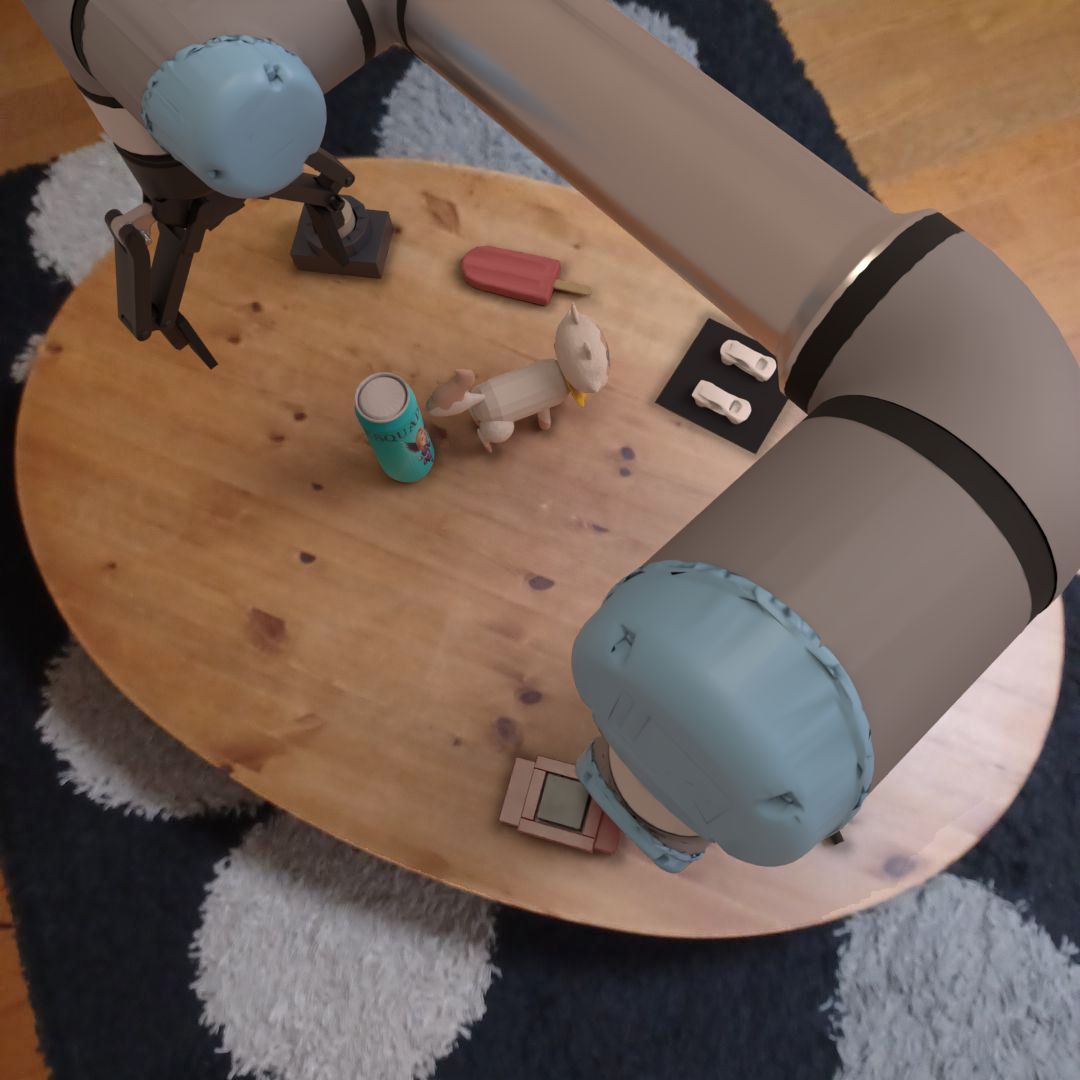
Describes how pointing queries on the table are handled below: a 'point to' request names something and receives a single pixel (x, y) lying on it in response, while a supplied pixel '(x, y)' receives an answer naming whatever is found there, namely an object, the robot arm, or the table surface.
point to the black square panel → (563, 802)
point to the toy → (530, 383)
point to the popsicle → (516, 274)
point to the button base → (346, 243)
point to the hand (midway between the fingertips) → (272, 305)
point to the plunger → (347, 220)
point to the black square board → (727, 386)
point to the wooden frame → (523, 812)
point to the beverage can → (394, 426)
